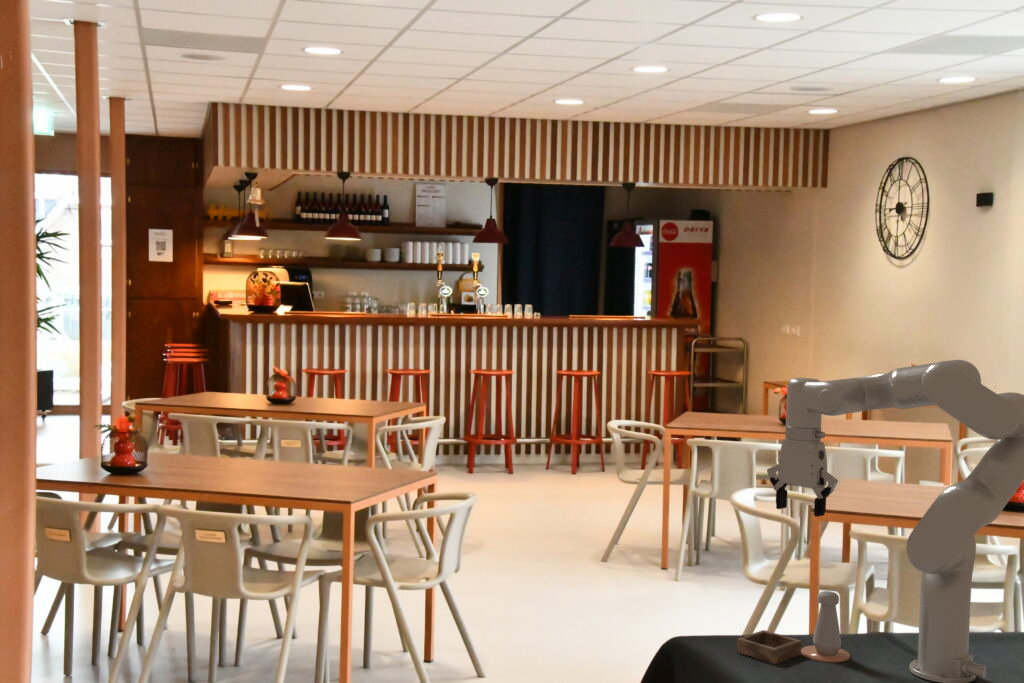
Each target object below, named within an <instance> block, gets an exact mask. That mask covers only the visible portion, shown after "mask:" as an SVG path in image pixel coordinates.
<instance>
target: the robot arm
mask: <svg viewBox="0 0 1024 683" xmlns="http://www.w3.org/2000/svg"><path fill="white" fill-rule="evenodd" d="M981 377H982V376H981V374H980V372H979V370H978V368H977V367H976V366H975V365H974V364H973V363H971V362H970V361H967V360H963V359H951V360H950V359H949V360H944V361H943V360H942V361H938V362H931V363H926V364H925V363H924V364H919V365H912V366H911V365H910V366H906V367H905V366H904V367H897V368H895V369H894V368H893V369H891V370H890V371H888V372H884V373H879V374H878V373H877V374H872V375H867V376H866V375H865V376H859V377H853V378H852V377H851V378H840V379H834V380H825V381H821V380H819V379H818V378H810V377H794V378H791V379H789V380H788V382H787V385H786V386H787V387H786V404H785V405H786V408H785V410H786V411H785V434H784V435H785V436H784V437H785V438H783V439H782V441H781V447H780V451H779V458H778V464H776V465H774V466H773V465H772V466H771V467H769V468H767V469H766V472H767V476H768V478H769V482H770V483H771V485H772V486H773V490H774V491H775V504H776V505H775V507H776V510H781V509H786V508H787V507H788V490H787V489H786V488H787V487H788V486H793V487H794V486H795V487H800V488H806V489H812V491H813V492H814V494H815V495H816V497H815V498H814V505H813V506H814V507H813V509H814V510H813V516H814V517H822V516H825V515H826V510H827V509H826V507H827V498H829V496H830V495H831V493H833V492H834V491H835V488H836V486H837V484H838V482H839V481H838V479H837V478H836V477H835V476H833V475H832V474H831V473H829V472H828V459H827V451H826V446H825V443H824V442H823V441H821V440H822V439H824V438H825V437H826V432H825V431H822V415H823V416H830V417H835V416H840V415H847V414H853V413H859V412H866V411H874V410H881V409H882V410H883V409H894V408H895V409H898V410H909V409H914V408H915V409H917V408H923V407H933V406H936V407H938V408H939V409H941V410H943V411H944V412H945V413H947V415H949V416H950V417H952V418H954V419H955V420H957V421H958V422H960V424H962V425H964V426H966V428H969V430H971V431H973V432H975V433H976V434H978V435H979V436H981V437H983V438H986V439H989V440H995V442H994V443H993V444H992V445H991V446H990V448H989V449H988V450H987V451H986V452H985V453H984V455H983V456H982V458H981V459H980V461H979V463H978V464H977V465H976V466H975V467H974V469H973V470H972V471H971V473H970V474H968V476H967V477H965V478H964V479H963V480H961V481H958V482H955V483H953V484H951V485H949V486H947V487H946V488H945V489H943V491H942V492H940V494H939V495H938V496H937V497H936V498H935V500H934V501H933V502H932V503H931V505H930V506H929V508H928V509H927V510H926V511H925V513H924V515H923V516H922V517H921V518H920V520H919V521H918V523H917V524H916V525H915V527H914V528H913V530H912V531H911V532H910V534H909V536H908V538H907V541H906V545H905V546H906V547H905V548H906V550H905V551H906V555H907V559H908V561H909V562H910V564H911V565H912V566H913V567H914V568H915V569H916V570H918V571H919V572H921V579H920V595H919V614H918V615H919V617H918V618H919V620H918V644H917V645H918V646H917V659H914V660H911V662H909V671H910V672H911V673H912V674H913V675H915V676H917V677H919V678H921V679H924V680H927V681H930V682H936V683H971V682H973V681H975V680H976V677H978V678H982V679H985V678H986V677H987V673H988V672H987V666H986V665H985V664H984V665H983V664H981V663H976V662H975V661H974V654H970V653H969V651H970V649H969V647H970V623H971V619H970V618H971V600H972V582H973V581H972V580H973V573H974V567H975V560H976V554H977V553H976V552H977V543H976V538H975V535H976V534H977V533H978V532H979V530H980V529H981V528H984V527H985V526H988V525H990V524H992V523H993V522H994V521H996V519H998V517H999V516H1000V514H1001V512H1002V511H1003V510H1004V508H1005V507H1006V505H1007V504H1009V502H1010V500H1011V499H1012V497H1013V496H1014V495H1015V493H1016V492H1017V491H1018V489H1020V487H1021V485H1022V483H1023V482H1024V394H1023V393H1019V392H1013V391H1010V392H1009V391H1008V392H1003V393H996V391H993V390H991V389H990V388H988V387H987V386H985V385H984V384H982V378H981Z"/></svg>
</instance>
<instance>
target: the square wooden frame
mask: <svg viewBox="0 0 1024 683" xmlns="http://www.w3.org/2000/svg"><path fill="white" fill-rule="evenodd" d="M764 644H766V645H770V646H773V647H775V648H773V647H769V646H766V645H764ZM801 649H802V640H799V639H796V638H793V637H789V636H786V635H783V634H779V633H776V632H772V631H768V630H764V629H762V630H759V631H757V632H753V633H749V634H747V635H745V636H741V637H738V638H736V653H737V654H740V653H741V654H740V655H743V654H744V655H743V656H746V655H748V656H747V657H749V656H751V657H750V658H752V657H754V658H753V659H757V660H760V661H762V662H766V663H769V664H773V665H777V664H779V663H782V662H785V661H788V660H790V658H791V659H793V658H796V657H799V656H801V655H802V654H801ZM798 655H799V656H798ZM787 659H788V660H787Z"/></svg>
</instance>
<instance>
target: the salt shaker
mask: <svg viewBox="0 0 1024 683" xmlns="http://www.w3.org/2000/svg"><path fill="white" fill-rule="evenodd" d="M817 601H818V604H820V607H819V610H818V611H819V612H818V616H817V619H816V625H815V629H814V633H813V638H812V643H813V645H814V646H815V649H816V651H817V653H818V654H821V655H823V656H834V655H836V654H837V653H838V651H839V649H841V647H842V638H841V633H840V625H839V617H838V611H837V605H838V604H840V596H839V595H838V593H837V592H834V591H831V590H830V591H829V590H827V591H826V590H823V591H820V592H819V593H818V594H817Z"/></svg>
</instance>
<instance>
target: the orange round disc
mask: <svg viewBox="0 0 1024 683" xmlns="http://www.w3.org/2000/svg"><path fill="white" fill-rule="evenodd" d="M801 653H802V654H801V655H802V656H803V657H805V658H807V659H809V660H813V661H817V662H821V663H822V662H824V663H842V662H846V661H848V660H850V658H851V654H850V652H849V651H847V650H845V649H843V648H840V649H839V651H838V653H837V654H836V655H834V656H823V655H821V654H818V653H817V651H816V649H815V646H814V644H813V645H807V646H804V647H801Z"/></svg>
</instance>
